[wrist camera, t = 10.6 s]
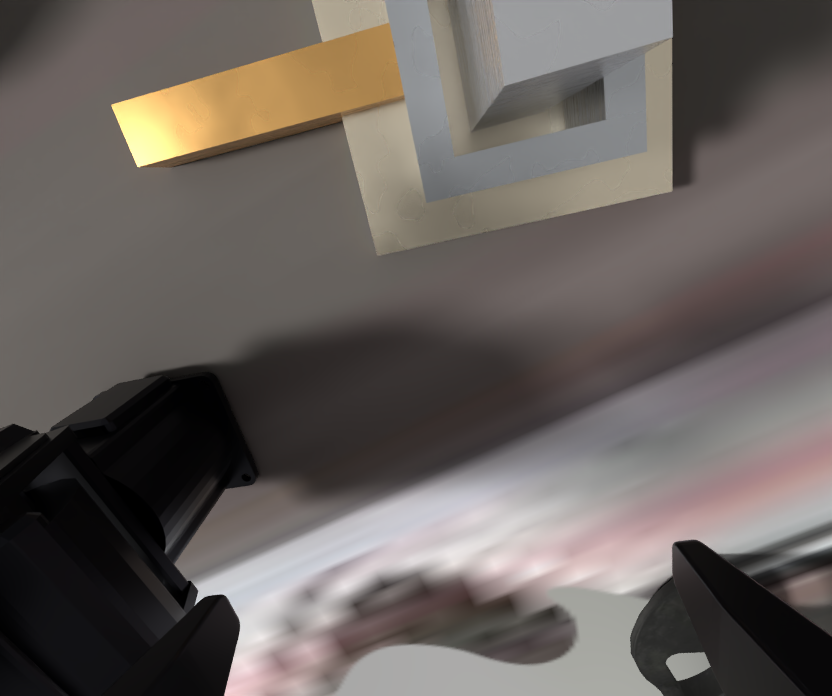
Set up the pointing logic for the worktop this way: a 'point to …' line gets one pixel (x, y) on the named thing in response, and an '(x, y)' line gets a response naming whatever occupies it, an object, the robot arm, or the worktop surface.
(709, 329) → the worktop surface
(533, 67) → the grey rectangular block
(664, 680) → the holder
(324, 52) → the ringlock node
